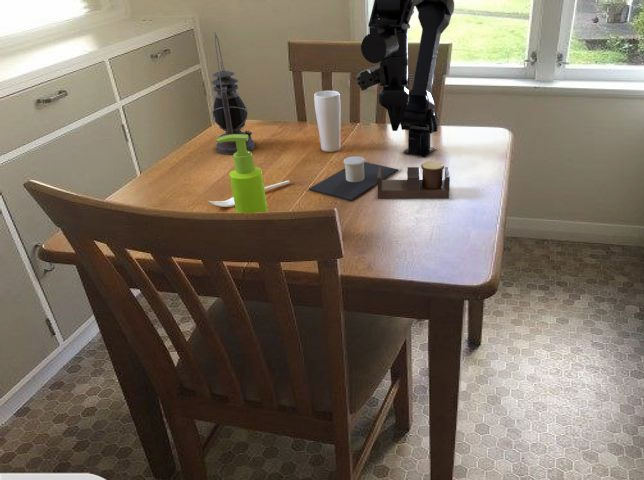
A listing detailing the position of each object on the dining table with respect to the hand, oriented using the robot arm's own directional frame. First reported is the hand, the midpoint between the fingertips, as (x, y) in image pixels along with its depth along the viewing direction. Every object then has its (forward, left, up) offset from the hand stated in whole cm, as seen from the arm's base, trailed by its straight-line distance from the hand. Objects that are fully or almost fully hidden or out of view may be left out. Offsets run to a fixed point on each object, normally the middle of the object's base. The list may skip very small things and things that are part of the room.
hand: (395, 124), depth 124 cm
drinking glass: (-5, -24, -12) cm, 27 cm away
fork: (+28, -21, -12) cm, 37 cm away
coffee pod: (+9, -6, -12) cm, 16 cm away
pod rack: (+8, +10, -12) cm, 18 cm away
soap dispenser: (+41, -8, -12) cm, 43 cm away
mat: (+9, -6, -12) cm, 16 cm away
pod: (+6, +13, -10) cm, 18 cm away
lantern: (+7, -48, -12) cm, 50 cm away
